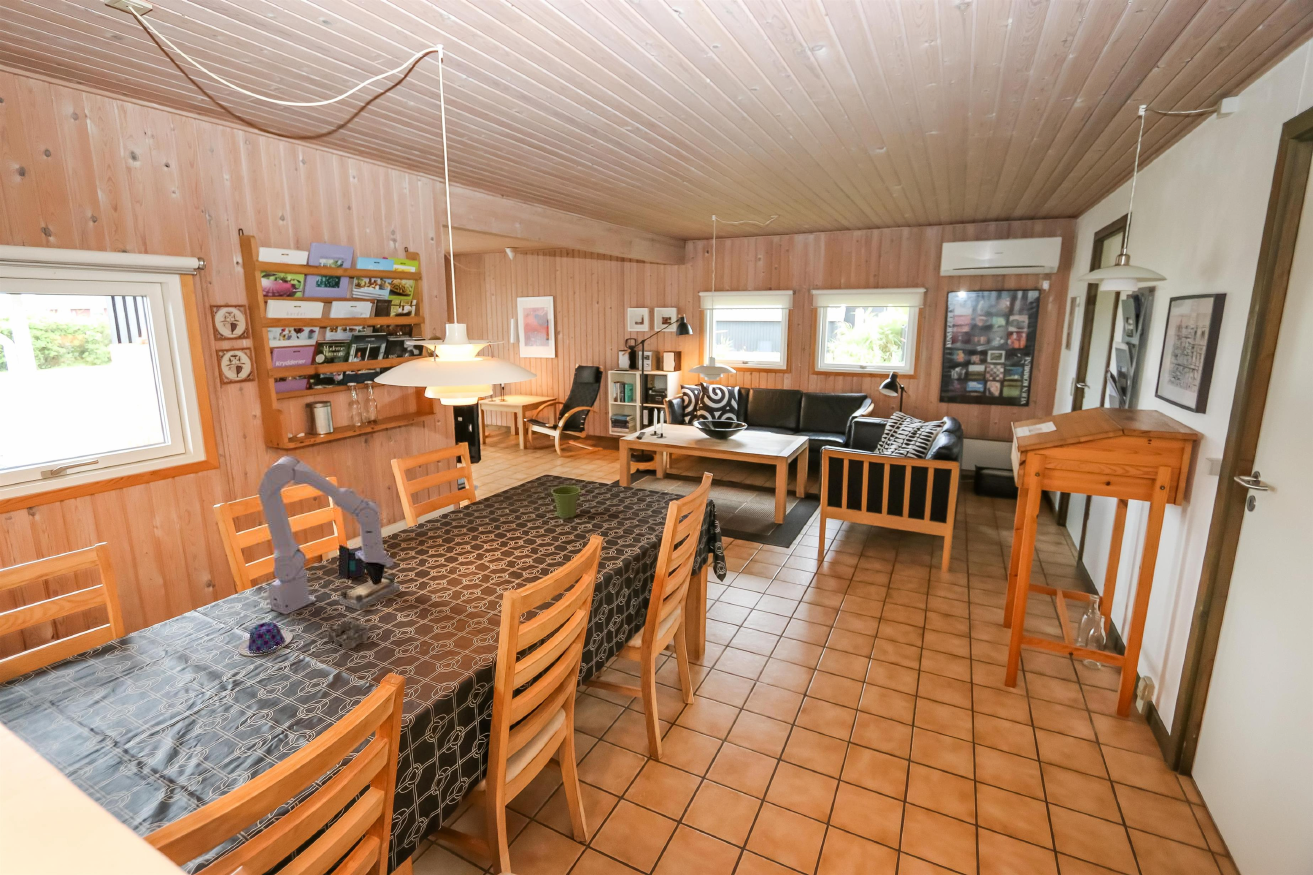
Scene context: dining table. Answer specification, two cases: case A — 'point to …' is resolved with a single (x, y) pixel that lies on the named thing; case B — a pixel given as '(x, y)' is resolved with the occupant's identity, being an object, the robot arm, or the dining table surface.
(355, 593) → the latch bar
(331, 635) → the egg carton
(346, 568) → the speaker
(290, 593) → the robot arm
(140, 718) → the dining table surface
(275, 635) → the purple beige domed disc
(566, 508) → the plant pot
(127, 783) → the dining table surface
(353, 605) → the block
